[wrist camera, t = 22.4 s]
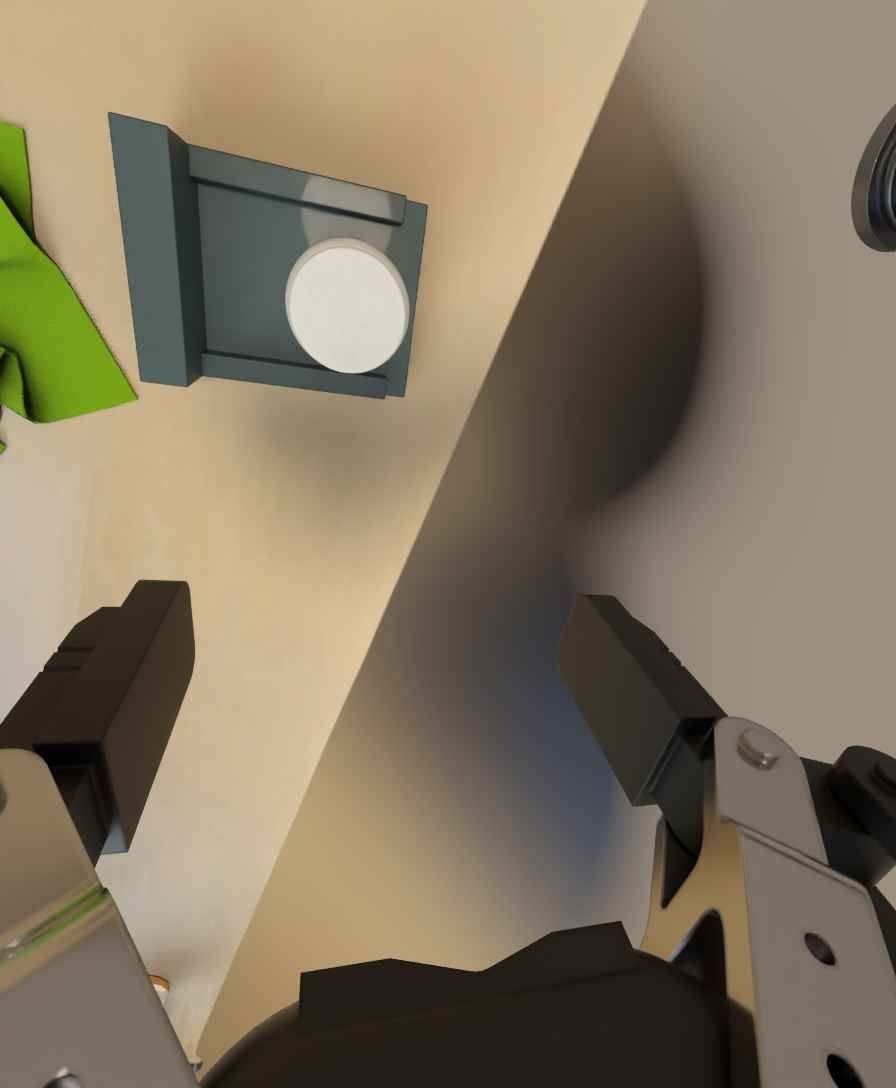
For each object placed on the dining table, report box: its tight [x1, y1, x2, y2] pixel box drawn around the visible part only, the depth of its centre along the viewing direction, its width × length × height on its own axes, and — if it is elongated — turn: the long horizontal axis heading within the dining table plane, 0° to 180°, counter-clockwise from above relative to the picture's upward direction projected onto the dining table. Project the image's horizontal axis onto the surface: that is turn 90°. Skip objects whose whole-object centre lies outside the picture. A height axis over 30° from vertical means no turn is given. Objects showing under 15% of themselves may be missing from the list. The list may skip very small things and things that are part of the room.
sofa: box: [108, 112, 428, 399], centre depth 29 cm, size 15×12×8 cm
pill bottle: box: [285, 237, 409, 373], centre depth 26 cm, size 6×6×11 cm
